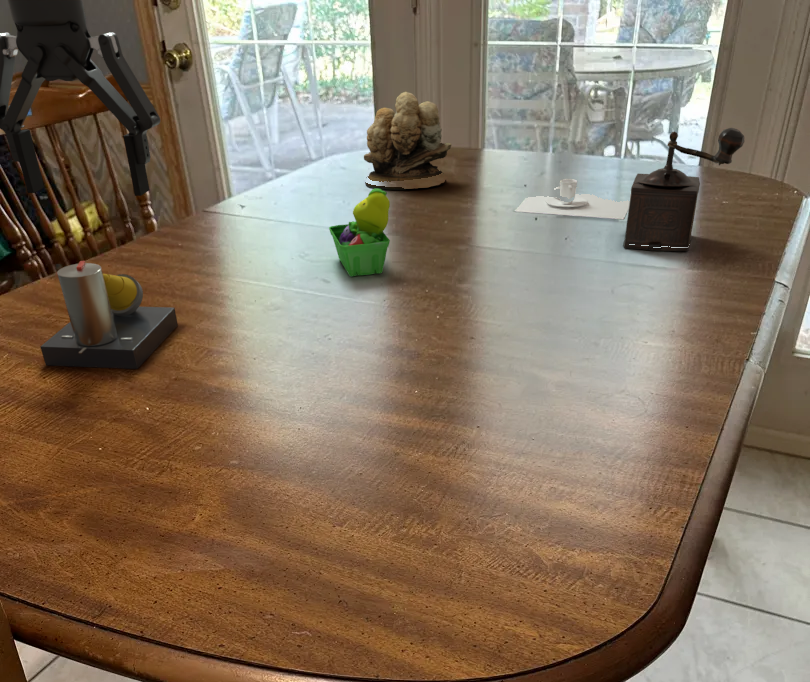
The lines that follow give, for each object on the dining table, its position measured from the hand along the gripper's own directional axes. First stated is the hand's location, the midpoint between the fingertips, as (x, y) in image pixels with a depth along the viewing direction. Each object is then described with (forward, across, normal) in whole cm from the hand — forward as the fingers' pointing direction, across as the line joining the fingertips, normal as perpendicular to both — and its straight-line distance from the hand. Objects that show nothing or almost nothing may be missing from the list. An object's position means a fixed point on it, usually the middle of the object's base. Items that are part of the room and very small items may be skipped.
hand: (88, 192), depth 100 cm
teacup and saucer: (+17, +62, +69) cm, 95 cm away
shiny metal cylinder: (+15, +1, -8) cm, 17 cm away
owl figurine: (+18, +28, +82) cm, 88 cm away
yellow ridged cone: (+16, +1, 0) cm, 16 cm away
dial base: (+18, +1, -4) cm, 18 cm away
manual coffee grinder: (+17, +77, +44) cm, 90 cm away
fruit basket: (+18, +28, +29) cm, 44 cm away
